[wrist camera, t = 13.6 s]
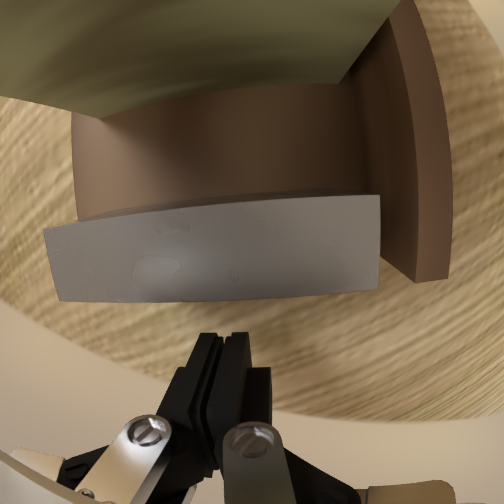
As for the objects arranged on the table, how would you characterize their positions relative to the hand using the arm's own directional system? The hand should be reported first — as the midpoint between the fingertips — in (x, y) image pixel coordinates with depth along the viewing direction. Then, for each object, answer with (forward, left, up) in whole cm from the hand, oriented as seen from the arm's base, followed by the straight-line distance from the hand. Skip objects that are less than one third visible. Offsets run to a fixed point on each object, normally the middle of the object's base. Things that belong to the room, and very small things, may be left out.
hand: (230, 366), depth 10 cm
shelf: (0, +15, -3) cm, 15 cm away
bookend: (0, +5, -1) cm, 5 cm away
